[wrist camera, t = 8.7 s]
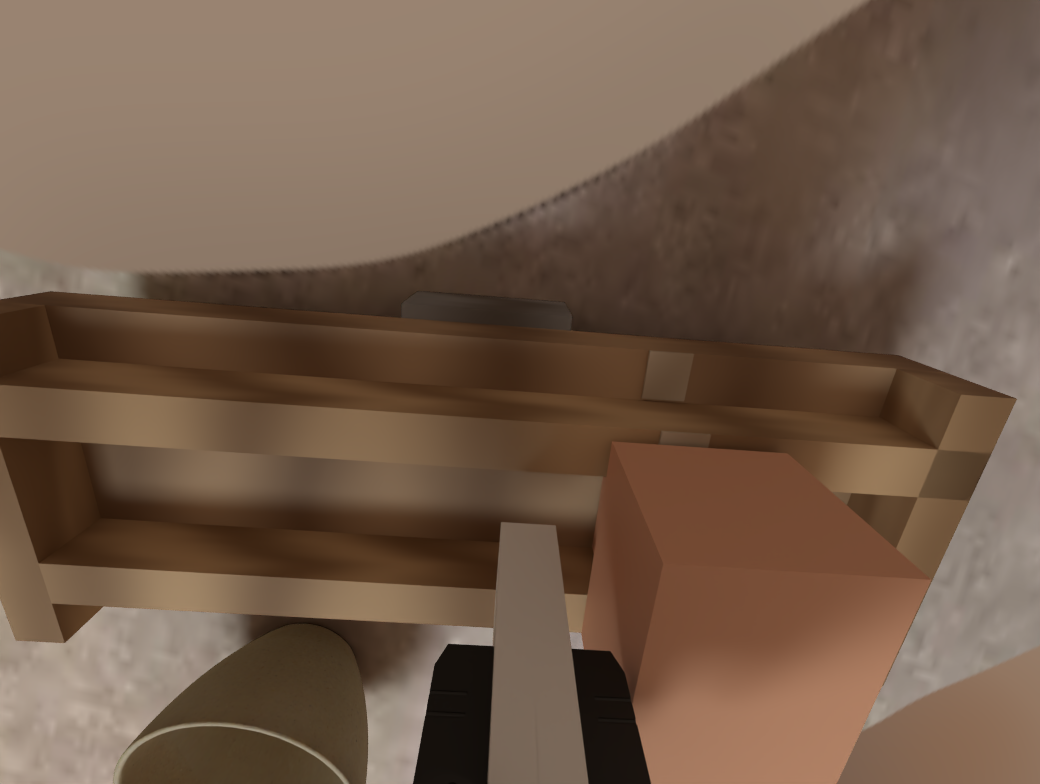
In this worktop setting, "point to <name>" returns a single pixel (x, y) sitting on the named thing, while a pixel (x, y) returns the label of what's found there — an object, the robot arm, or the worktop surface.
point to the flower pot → (262, 719)
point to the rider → (742, 612)
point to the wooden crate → (407, 449)
